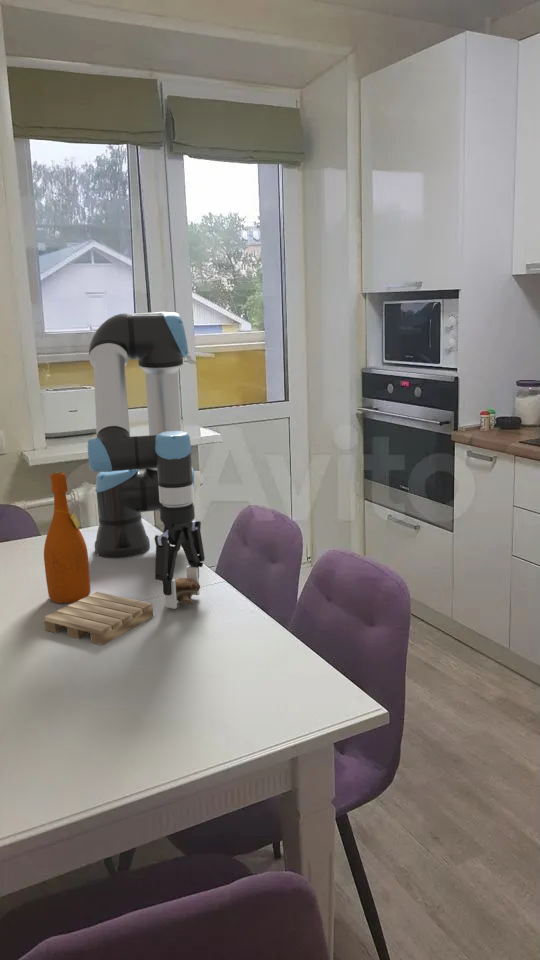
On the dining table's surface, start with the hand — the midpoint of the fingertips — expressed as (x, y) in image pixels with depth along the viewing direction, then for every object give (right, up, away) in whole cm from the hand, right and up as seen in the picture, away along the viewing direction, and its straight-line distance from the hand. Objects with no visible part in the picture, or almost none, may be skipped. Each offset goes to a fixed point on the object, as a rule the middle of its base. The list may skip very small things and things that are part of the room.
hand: (182, 600), depth 167 cm
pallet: (-17, -4, -8) cm, 19 cm away
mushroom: (0, -1, 0) cm, 1 cm away
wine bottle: (-27, -1, +7) cm, 28 cm away
